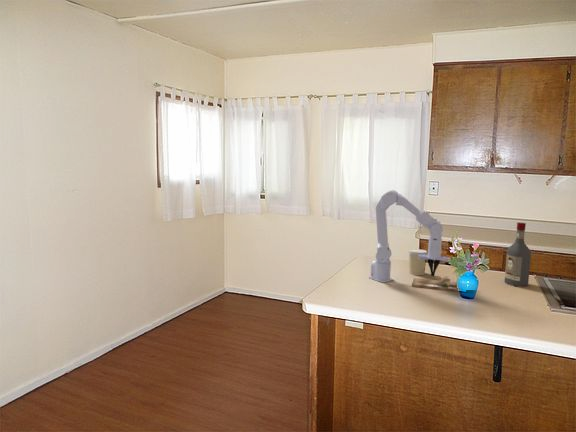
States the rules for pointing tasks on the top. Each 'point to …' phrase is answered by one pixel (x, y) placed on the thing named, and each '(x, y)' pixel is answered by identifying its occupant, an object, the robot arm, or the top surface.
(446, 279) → the gauge slider
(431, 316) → the top surface
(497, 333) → the top surface
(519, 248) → the liquor
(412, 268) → the coffee cup
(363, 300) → the top surface
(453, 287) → the gauge base
